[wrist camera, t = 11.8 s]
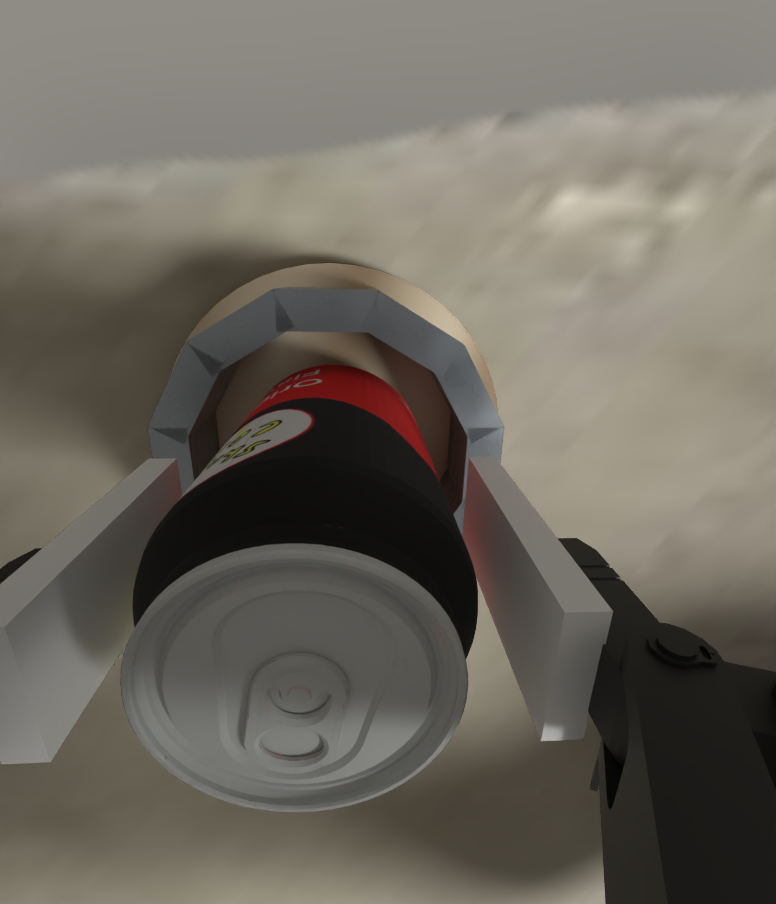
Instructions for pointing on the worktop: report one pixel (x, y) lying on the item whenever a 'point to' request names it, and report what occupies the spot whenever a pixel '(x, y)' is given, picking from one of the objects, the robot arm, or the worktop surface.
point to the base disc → (342, 351)
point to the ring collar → (321, 310)
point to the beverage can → (305, 606)
